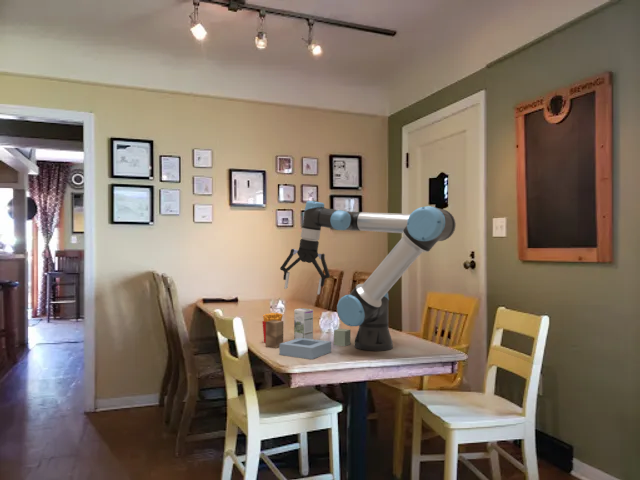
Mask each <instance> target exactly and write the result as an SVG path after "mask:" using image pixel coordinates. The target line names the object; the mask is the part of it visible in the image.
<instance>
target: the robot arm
mask: <svg viewBox="0 0 640 480" xmlns="http://www.w3.org/2000/svg"><path fill="white" fill-rule="evenodd" d="M305 203H306V204H305V206H304V210H303V221H302V227H301V232H300V241H299V248H298V249H295V248H291V249H290V252H289V254H288V256H287V258H286V259H285V260H284V262H283V263H282V265H281V266H280V268H279V269H280V270H281V271H283V277H282V278H283V281H284V289H285V290H287V289H288V287H289V280H290V275H291V274H290V270H291V269H293V267H295V266H296V265H297V264H298V263H299V262H303V263H309V264H311V263H312V265H313V266H314V268H315V269H316V271H317V272H318V274H319V276H320V277H319V282H318V288H317V292H316V293H317V295H319V296H320V294H321V290H322V287H324V285H325V280H326V279H328V278H330V277H331V274H330V271H329V269H328V265H327V261H326V259H325V258H326V254H325V253H323V252H322V253H318V250H319V245H320V244H319V243H320V242H319V240H320V237H321V231H322V228H328V229H331V230H332V229H333V230H336V231H347V230H348V231H363V232H365V231H366V232H376V233H377V232H378V233H379V232H380V233H393V234H402V237H401V238H400V240H399V241H398V242H397V243H396V244H395V246H394V247H393V248H392V249H391V250H390V252H389V253H388V254H387V255H385V258H384V259H383V260H382V261H381V262H380V263H379V265H378V266H377V267H376V268H375V270H373V272H372V273H371V274H370V275H369V276H368V278H367V279H366V280H365V281H364V282H363V283H359V284H357V285H356V286H355V287H354V288H353V289H352V290H351V292H350V293H349V294H345V295H344V296H341V297H340V298H339V300H338V301H337V305H336V310H337V316H338V318H339V319H340V321H341V322H342V323H343V324H344V325H346V326H349V327H358V330H357V333H356V336H355V338H354V348H356V349H357V350H358V349H359V350H363V351H371V352H375V351H378V352H379V351H380V352H381V351H388V350H392V349H393V347H394V346H393V343H394V342H393V339H392V336H391V332H390V328H389V308H390V307H389V301H390V298H389V291H390V290H391V289H392V287H393V286H394V285H395V284H396V283H397V282H398V281H399V279H401V277H402V276H403V275H404V274H405V273H406V271H407V270H408V269H409V268H410V267H411V265H412V264H414V262H415V261H416V260H417V259H418V258H419V256H420V255H421V254H422V253H429V251H431V250H432V248H433V247H434V246H435V245H436V244H437V243H438V242H443V241H446V240H448V239H449V238H451V236H453V235H454V233H455V230H456V224H457V223H456V219H455V218H454V216H453V214H452V213H451V212H450V211H448V210H446V209H444V208H438V207H436V206H430V205H428V206H427V205H426V206H421V207H418V208H416V209H414V210H413V211H412V212H411V213H397V212H395V213H394V212H393V213H391V212H371V211H370V212H369V211H367V212H366V211H350V210H349V211H348V210H341V209H335V208H326V207H325V203H324V202H319V201H313V200H307V201H306V202H305ZM296 254H297V255H298V258H296V259H295V260H294V261H293V262H292V263H291V264H290V265H288V264H289V262H290V261H291V259H292V258H293V257H294V256H295V255H296ZM318 257H319V259H320V262H321V265H322V268H323V270H322V268H321V266H320V265H319V263H318V261H317V260H316V259H317V258H318ZM287 265H288V267H287ZM323 271H324V272H323Z"/></svg>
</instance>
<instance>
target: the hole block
mask: <svg viewBox="0 0 640 480" xmlns="http://www.w3.org/2000/svg"><path fill="white" fill-rule="evenodd" d="M278 349H279V351H278V352H279V356H287V357H292V358H300V359H306V360H315V359H317V358H320V357H322V356H325V355H328V354H329V353H332V340H331V341H330V340H321V339H314V338H313V339H306V338H297V339H294V338H293V339H291V340H288V341H285V342H284V341H283V343H281V344H280V347H279V348H278Z"/></svg>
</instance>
